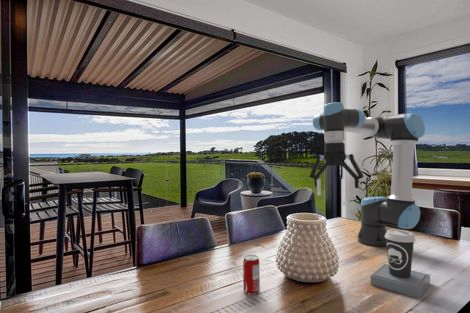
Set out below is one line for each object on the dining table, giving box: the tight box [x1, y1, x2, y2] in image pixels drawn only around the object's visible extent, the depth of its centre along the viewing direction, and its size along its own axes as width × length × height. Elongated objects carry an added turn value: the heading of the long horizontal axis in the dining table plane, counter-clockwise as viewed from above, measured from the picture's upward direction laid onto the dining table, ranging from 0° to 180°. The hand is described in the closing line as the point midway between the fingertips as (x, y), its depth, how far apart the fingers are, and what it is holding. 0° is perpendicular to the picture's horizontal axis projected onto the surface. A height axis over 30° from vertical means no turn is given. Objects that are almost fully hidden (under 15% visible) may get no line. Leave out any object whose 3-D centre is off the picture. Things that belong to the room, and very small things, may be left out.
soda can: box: [242, 254, 261, 295], centre depth 100 cm, size 6×6×12 cm
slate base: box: [370, 263, 431, 300], centre depth 104 cm, size 15×15×3 cm
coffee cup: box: [385, 228, 416, 278], centre depth 104 cm, size 10×10×15 cm
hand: (336, 195), depth 117 cm, fingers open, 13 cm apart
